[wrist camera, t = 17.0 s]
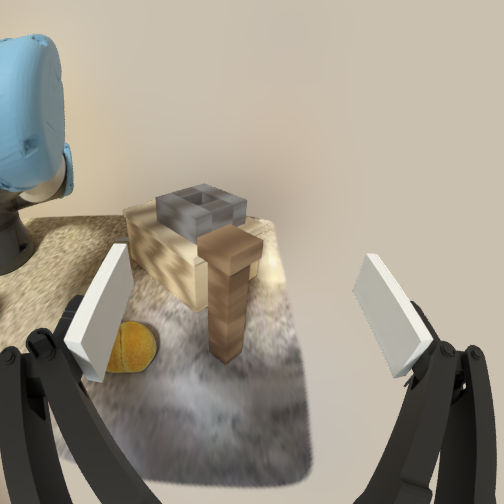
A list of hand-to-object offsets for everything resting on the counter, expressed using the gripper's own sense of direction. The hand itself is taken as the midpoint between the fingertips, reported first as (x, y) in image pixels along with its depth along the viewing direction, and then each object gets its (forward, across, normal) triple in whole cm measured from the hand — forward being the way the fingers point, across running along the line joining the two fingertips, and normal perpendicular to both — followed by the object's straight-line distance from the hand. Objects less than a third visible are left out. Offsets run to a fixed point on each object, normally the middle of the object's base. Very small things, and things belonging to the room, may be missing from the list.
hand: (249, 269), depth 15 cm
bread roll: (+10, -14, -22) cm, 28 cm away
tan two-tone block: (+30, -7, -22) cm, 37 cm away
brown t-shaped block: (+11, -1, -22) cm, 24 cm away
